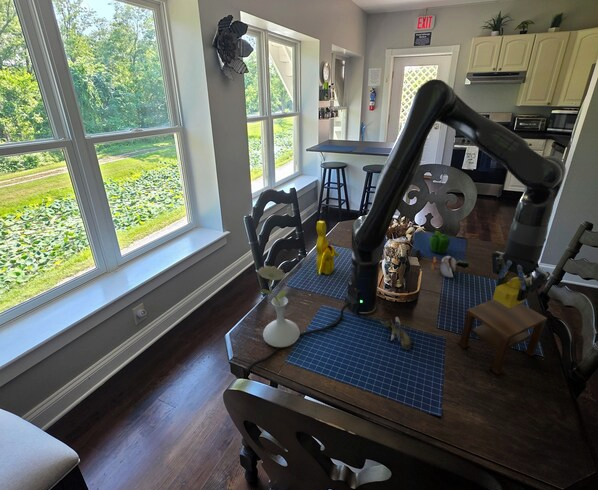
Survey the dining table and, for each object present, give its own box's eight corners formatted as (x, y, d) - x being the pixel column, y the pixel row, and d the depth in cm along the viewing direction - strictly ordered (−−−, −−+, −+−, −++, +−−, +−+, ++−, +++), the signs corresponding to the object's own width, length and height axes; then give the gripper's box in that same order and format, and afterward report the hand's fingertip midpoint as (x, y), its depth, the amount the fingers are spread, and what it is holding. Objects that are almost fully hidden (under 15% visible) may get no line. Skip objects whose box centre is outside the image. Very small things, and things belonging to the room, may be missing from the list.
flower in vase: (306, 332, 102) (305, 264, 92) (287, 356, 93) (283, 283, 83) (272, 319, 108) (268, 253, 98) (251, 340, 99) (244, 271, 89)
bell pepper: (449, 249, 150) (452, 230, 147) (446, 257, 144) (449, 237, 140) (430, 245, 155) (433, 226, 151) (426, 252, 148) (429, 233, 144)
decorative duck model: (466, 252, 134) (485, 270, 120) (461, 268, 137) (479, 287, 123) (431, 250, 134) (445, 267, 120) (427, 265, 137) (441, 284, 123)
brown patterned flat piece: (381, 241, 160) (381, 232, 158) (424, 255, 146) (425, 246, 144) (364, 252, 150) (364, 243, 148) (408, 268, 136) (410, 259, 134)
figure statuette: (323, 282, 127) (324, 232, 119) (306, 277, 131) (306, 228, 123) (342, 263, 141) (344, 217, 133) (326, 258, 145) (327, 213, 136)
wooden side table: (496, 374, 86) (508, 336, 80) (459, 344, 96) (467, 309, 91) (534, 354, 92) (547, 318, 87) (495, 328, 102) (504, 294, 97)
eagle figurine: (375, 333, 99) (396, 347, 91) (384, 311, 100) (405, 324, 92) (391, 337, 103) (413, 352, 95) (400, 317, 103) (422, 329, 95)
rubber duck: (507, 309, 84) (512, 288, 81) (490, 299, 88) (495, 279, 85) (527, 300, 87) (533, 279, 84) (511, 291, 91) (516, 271, 88)
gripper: (489, 230, 84) (477, 285, 91) (547, 253, 72) (529, 314, 79) (508, 225, 87) (495, 278, 94) (567, 246, 75) (547, 305, 82)
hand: (510, 294), depth 87 cm, fingers closed on rubber duck, 4 cm apart
